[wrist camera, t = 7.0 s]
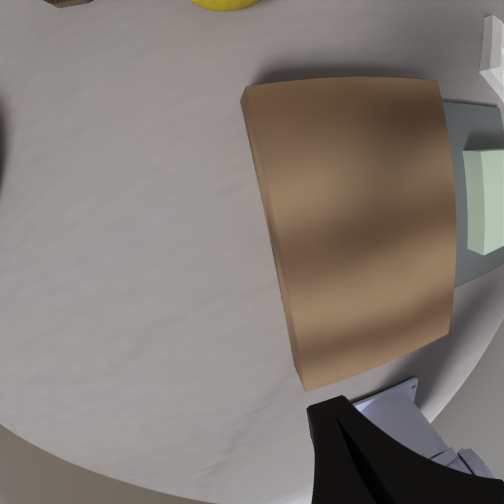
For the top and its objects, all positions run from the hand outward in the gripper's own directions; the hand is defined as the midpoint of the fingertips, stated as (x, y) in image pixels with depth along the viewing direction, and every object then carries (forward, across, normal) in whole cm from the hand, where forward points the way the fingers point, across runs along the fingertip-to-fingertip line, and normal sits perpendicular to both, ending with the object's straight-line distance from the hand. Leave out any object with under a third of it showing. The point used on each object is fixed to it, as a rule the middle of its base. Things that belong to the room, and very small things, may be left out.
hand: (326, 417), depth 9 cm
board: (+10, -6, -4) cm, 12 cm away
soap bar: (+10, -27, -17) cm, 34 cm away
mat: (+10, -18, -4) cm, 21 cm away
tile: (+8, -20, -4) cm, 21 cm away
